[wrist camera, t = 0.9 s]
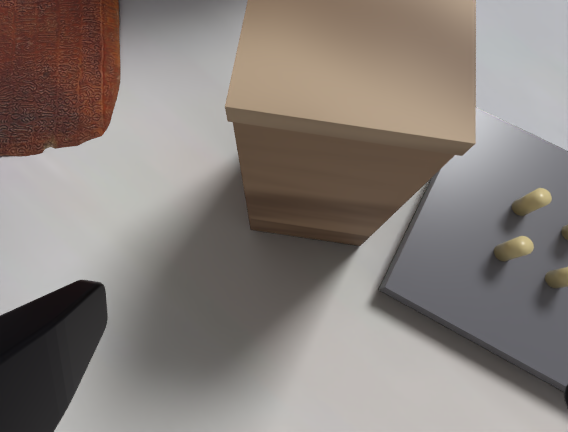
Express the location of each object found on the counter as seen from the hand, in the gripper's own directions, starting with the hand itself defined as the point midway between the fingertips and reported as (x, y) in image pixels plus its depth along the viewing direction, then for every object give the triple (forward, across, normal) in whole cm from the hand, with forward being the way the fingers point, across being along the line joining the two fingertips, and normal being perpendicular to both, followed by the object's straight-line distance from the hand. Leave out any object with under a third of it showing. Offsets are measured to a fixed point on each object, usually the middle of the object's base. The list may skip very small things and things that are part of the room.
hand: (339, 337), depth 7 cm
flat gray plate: (+14, -12, +4) cm, 19 cm away
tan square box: (+15, 0, +3) cm, 15 cm away
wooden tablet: (+24, +20, -5) cm, 31 cm away
